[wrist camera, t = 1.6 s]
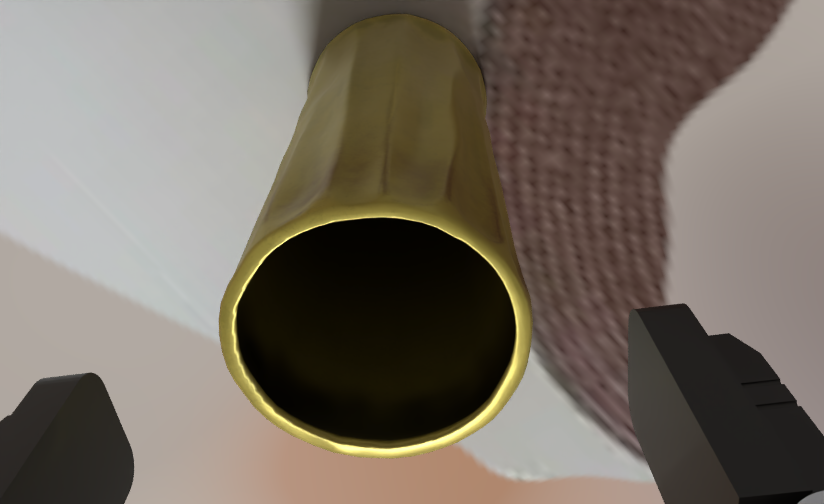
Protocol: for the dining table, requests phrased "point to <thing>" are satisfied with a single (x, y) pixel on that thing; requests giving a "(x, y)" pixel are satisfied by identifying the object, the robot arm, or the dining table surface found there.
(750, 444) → the robot arm
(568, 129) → the dining table surface
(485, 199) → the vase
